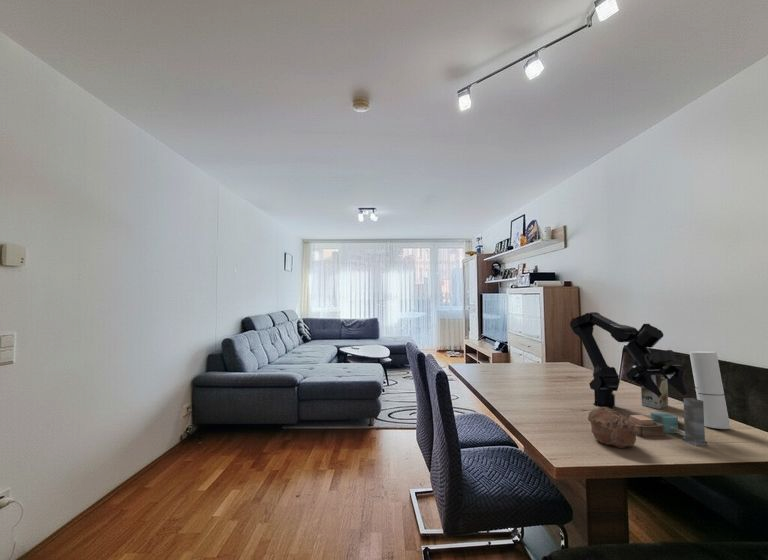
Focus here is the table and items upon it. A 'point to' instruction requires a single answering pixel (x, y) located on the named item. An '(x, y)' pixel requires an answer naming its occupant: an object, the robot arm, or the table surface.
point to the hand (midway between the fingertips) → (673, 395)
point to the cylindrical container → (710, 389)
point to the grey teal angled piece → (686, 422)
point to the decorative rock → (612, 427)
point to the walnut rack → (655, 429)
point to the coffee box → (653, 399)
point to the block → (641, 420)
